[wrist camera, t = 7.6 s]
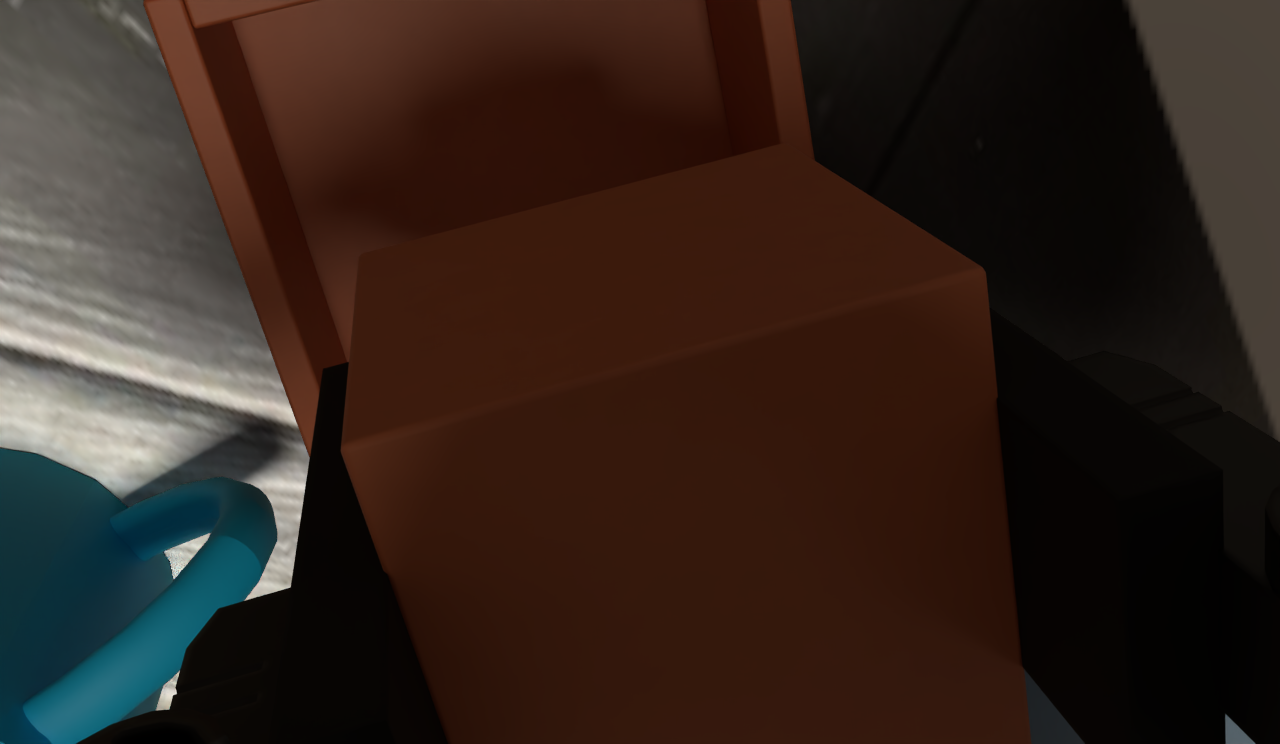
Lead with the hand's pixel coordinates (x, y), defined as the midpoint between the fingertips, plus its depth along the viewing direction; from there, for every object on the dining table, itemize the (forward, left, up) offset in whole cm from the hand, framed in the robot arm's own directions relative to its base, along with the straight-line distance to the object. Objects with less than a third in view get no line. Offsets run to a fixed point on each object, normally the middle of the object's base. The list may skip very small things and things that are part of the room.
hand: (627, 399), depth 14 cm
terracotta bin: (0, -1, -12) cm, 12 cm away
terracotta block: (0, 0, 0) cm, 0 cm away
